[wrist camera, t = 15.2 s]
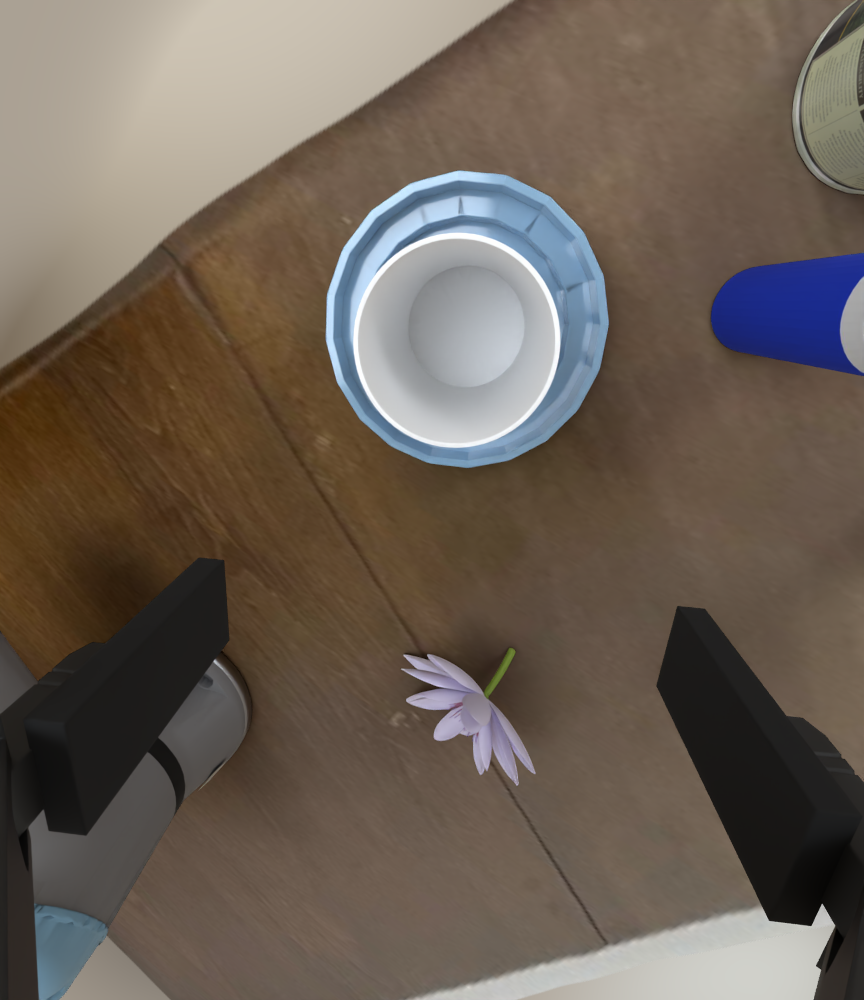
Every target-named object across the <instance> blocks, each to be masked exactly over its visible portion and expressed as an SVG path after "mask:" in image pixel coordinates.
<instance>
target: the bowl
mask: <svg viewBox="0 0 864 1000" xmlns="http://www.w3.org/2000/svg"><path fill="white" fill-rule="evenodd" d="M447 233H469V234H476V235H481V236H485V237H488V238H491V239H494V240H496V241H499V242H501V243H503V244H505V245H507V246H508V247H510V248H512V249H513V250H515V251H516V252H517V253H519V254H520V255H521V256H523V257H524V258H525V259H526V260H527V261H528V262H529V263H530V264H531V265H532V266H533V267H534V268H535V270H536V271H537V272H538V273H539V275H540V276H541V278H542V279H543V280H544V282H545V284H546V286H547V288H548V289H549V291H550V294H551V296H552V298H553V301H554V304H555V307H556V310H557V315H558V319H559V326H560V353H559V359H558V365H557V368H556V372H555V375H554V378H553V380H552V383H551V385H550V387H549V389H548V391H547V393H546V395H545V397H544V398H543V400H542V401H541V403H540V404H539V405H538V407H537V408H536V409H535V411H534V412H533V413H532V414H531V415H530V416H529V417H528V418H527V419H526V420H525V421H524V422H523V423H522V424H520V425H519V426H518V427H516V428H515V429H514V430H512V431H511V432H509V433H507V434H506V435H504V436H502V437H500V438H498V439H496V440H493V441H491V442H488V443H485V444H481V445H477V446H471V447H463V448H448V447H440V446H435V445H430V444H427V443H424V442H421V441H419V440H416V439H414V438H412V437H410V436H408V435H406V434H404V433H403V432H401V431H400V430H398V429H397V428H395V427H394V426H393V425H392V424H391V423H389V422H388V421H387V420H386V419H385V418H384V417H383V416H382V415H381V414H380V412H379V411H378V410H377V409H376V408H375V406H374V405H373V403H372V402H371V400H370V399H369V397H368V395H367V394H366V392H365V390H364V388H363V385H362V383H361V381H360V378H359V375H358V372H357V368H356V363H355V357H354V347H353V336H354V325H355V319H356V315H357V311H358V308H359V305H360V302H361V299H362V297H363V295H364V293H365V290H366V289H367V287H368V285H369V283H370V282H371V280H372V279H373V277H374V276H375V275H376V273H377V272H378V271H379V270H380V269H381V267H382V266H383V265H384V264H385V263H386V262H387V261H388V260H389V259H390V258H392V257H393V256H394V255H395V254H397V253H398V252H399V251H401V250H402V249H404V248H406V247H407V246H409V245H411V244H413V243H415V242H417V241H419V240H422V239H425V238H428V237H431V236H435V235H440V234H447ZM603 276H604V275H603V273H602V271H601V269H600V266H599V264H598V262H597V260H596V258H595V255H594V253H593V251H592V249H591V247H590V244H589V242H588V240H587V238H586V235H585V233H584V232H583V230H582V229H581V228H580V227H579V226H578V225H577V224H576V223H575V222H574V221H573V220H572V219H571V218H570V217H569V216H568V215H567V214H566V213H565V212H564V211H563V209H562V208H561V207H560V206H559V205H558V204H557V203H556V202H555V201H554V200H553V199H552V198H551V197H550V196H548V195H546V194H544V193H542V192H540V191H538V190H536V189H534V188H532V187H530V186H528V185H526V184H524V183H522V182H520V181H518V180H516V179H514V178H512V177H509V176H507V175H502V174H492V173H481V172H471V171H460V170H458V171H453V172H450V173H446V174H442V175H438V176H435V177H431V178H427V179H424V180H420V181H416V182H412V183H410V184H409V185H407V186H406V187H404V188H403V189H401V190H400V191H398V192H397V193H396V194H394V195H393V196H391V197H390V198H388V199H387V200H385V201H384V202H383V203H381V204H380V205H378V206H377V207H375V208H374V209H372V210H371V211H370V213H369V214H368V215H367V217H366V218H365V219H364V221H363V222H362V223H361V225H360V226H359V227H358V229H357V230H356V231H355V233H354V234H353V235H352V237H351V238H350V239H349V241H348V242H347V244H346V245H345V246H344V248H343V250H342V251H341V254H340V257H339V260H338V263H337V266H336V269H335V272H334V275H333V278H332V281H331V284H330V287H329V290H328V293H327V311H326V343H327V347H328V351H329V354H330V358H331V362H332V365H333V369H334V373H335V377H336V380H337V382H338V385H339V387H340V388H341V390H342V391H343V393H344V395H345V396H346V398H347V399H348V401H349V403H350V404H351V406H352V407H353V409H354V411H355V412H356V414H357V416H358V417H359V419H360V420H361V421H362V422H364V423H365V424H366V425H367V426H368V427H369V428H370V429H372V430H373V431H374V432H375V433H376V434H377V435H378V436H380V437H381V438H382V439H383V440H384V441H385V442H386V443H388V444H389V445H390V446H391V447H393V448H395V449H398V450H400V451H402V452H404V453H407V454H409V455H411V456H413V457H415V458H418V459H420V460H422V461H424V462H427V463H431V464H439V465H448V466H456V467H464V468H471V467H477V466H482V465H488V464H493V463H499V462H504V461H508V460H511V459H513V458H515V457H517V456H519V455H521V454H523V453H525V452H526V451H528V450H530V449H532V448H534V447H536V446H538V445H540V444H542V443H544V442H546V441H547V440H548V439H549V438H550V437H551V436H552V435H553V434H554V433H555V432H556V431H557V430H558V429H559V428H560V427H561V426H562V425H563V424H564V423H565V422H566V421H567V420H568V419H570V418H571V417H572V416H573V415H574V414H575V413H576V412H577V410H578V409H579V407H580V405H581V404H582V402H583V400H584V398H585V396H586V394H587V393H588V391H589V389H590V387H591V385H592V383H593V382H594V380H595V378H596V376H597V374H598V372H599V370H600V366H601V361H602V356H603V351H604V346H605V341H606V336H607V332H608V327H609V325H608V324H609V320H608V310H607V301H606V291H605V282H604V277H603Z"/></svg>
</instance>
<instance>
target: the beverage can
mask: <svg viewBox="0 0 864 1000" xmlns="http://www.w3.org/2000/svg"><path fill="white" fill-rule="evenodd" d="M711 323H712V328H713V331H714V333H715V335H716V337H717V338H718V340H719V341H720V342H721V343H722V344H723V345H725V346H726V347H728V348H729V349H731V350H734V351H737V352H742V353H748V354H753V355H758V356H763V357H768V358H773V359H778V360H784V361H789V362H794V363H799V364H804V365H809V366H814V367H819V368H825V369H830V370H835V371H840V372H845V373H850V374H855V375H861V376H864V253H859V254H851V255H843V256H835V257H827V258H820V259H812V260H804V261H796V262H789V263H781V264H773V265H765V266H758V267H752V268H749V269H746V270H743V271H741V272H740V273H738V274H736V275H735V276H733V277H732V278H731V279H730V280H728V281H727V282H726V283H725V285H724V286H723V287H722V288H721V290H720V291H719V293H718V294H717V296H716V298H715V301H714V304H713V307H712V313H711Z"/></svg>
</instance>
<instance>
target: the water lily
mask: <svg viewBox="0 0 864 1000" xmlns="http://www.w3.org/2000/svg"><path fill="white" fill-rule="evenodd" d="M515 653H516V651H515V650H514V649H513V648H509V649H508V651H507V653H506V655H505V657H504V659H503V661H502V663H501V665H500V667H499V669H498V670H497V672H496V674H495V675H494V677H493V678H492V680H491V682H490V683H489V684H488V686H487V687H486V689H485V690H484V692H482V690H481V688H480V687H479V686H478V684H477V683H476V682H475V681H474V680H473V679H472V678H471V677H470V676H469V675H468V674H467V673H465V672H464V671H463V670H462V669H460V668H459V667H457V666H456V665H454V664H452V663H451V662H449V661H447V660H445V659H443V658H440V657H438V656H435V655H431V654H427V656H428V658H429V659H430V660H431V661H429V660H427V659H424V658H420V657H416V656H412V655H406V654H403V656H404V657H405V658H406V659H407V660H408V661H409V662H410V663H411V664H412V665H413V666H414V667H416V668H417V669H401V670H403V671H405V672H407V673H408V674H410V675H412V676H414V677H416V678H418V679H420V680H422V681H425V682H427V683H429V684H432V685H435V686H438V687H442V688H441V689H434V690H430V691H425V692H421V693H418V694H415V695H412V696H410V697H408V698H407V699H406V701H407V702H409V704H412V705H414V706H417V707H420V708H424V709H430V710H442V709H446V710H449V709H451V708H454V707H456V706H458V707H456V708H454V709H452V711H450V712H449V713H448V714H447V715H446V716H445V717H444V718H443V719H442V720H441V721H440V722H439V723H438V725H437V726H436V728H435V731H434V739H435V740H438V741H444V740H448V739H451V738H453V737H455V736H456V735H458V734H459V733H460V734H463V735H467V737H468V736H469V735H473V734H474V735H473V739H472V742H473V740H474V742H473V752H474V759H475V763H476V767H477V769H478V772H479V774H480V775H482V774H483V772H484V770H485V769H486V771H488V767H489V763H490V758H491V751H492V747H493V750H494V753H495V755H496V757H497V759H498V761H499V763H500V764H501V766H502V768H503V769H504V771H505V772H506V774H507V775H508V776H509V777H510V778H511V779H512V781H513V782H514V783H515V784H516V785H517V786H518V774H517V768H516V763H515V759H514V756H513V752H512V749H513V750H514V752H515V754H516V755H517V756H518V758H519V759H520V760H521V762H522V763H523V764H524V765H525V766H526V767H527V769H529V770H530V771H531V772H532V773H534V774H536V773H535V770H534V767H533V765H532V762H531V759H530V757H529V755H528V753H527V751H526V749H525V747H524V745H523V743H522V741H521V739H520V738H519V736H518V734H517V733H516V731H515V729H514V728H513V726H512V725H511V724H510V722H509V721H508V720H507V718H506V717H505V716H504V715H503V713H502V712H501V711H500V710H499V709H498V708H497V707H496V706H495V705H494V704H493V703H492V702H491V701H490V700H489V698H488V697H489V695H490V694H491V693H492V691H493V690H494V689H495V687H496V686H497V684H498V683H499V681H500V680H501V678H502V676H503V675H504V673H505V672H506V670H507V668H508V666H509V665H510V663H511V661H512V659H513V657H514V655H515ZM459 705H460V706H459ZM507 738H508V739H507ZM508 740H509V741H508ZM509 743H510V744H509ZM510 745H511V746H510ZM511 747H512V749H511Z"/></svg>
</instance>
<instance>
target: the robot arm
mask: <svg viewBox="0 0 864 1000" xmlns="http://www.w3.org/2000/svg"><path fill="white" fill-rule="evenodd" d="M228 641H229V628H228V613H227V597H226V581H225V566H224V560H217V559H207V558H198V559H197V560H196V561H195V562H193V563H192V564H191V565H190V566H189V567H188V568H187V569H186V570H185V571H184V572H183V573H181V574H180V575H179V576H178V577H177V578H176V579H175V580H174V581H173V582H172V583H171V584H170V585H168V586H167V587H166V588H165V589H164V590H163V591H162V592H161V593H160V594H159V595H158V596H156V597H155V598H154V599H153V600H152V601H151V602H150V603H149V604H148V605H147V606H146V607H145V608H143V609H142V610H141V611H140V612H139V613H138V614H137V615H136V616H135V617H134V618H133V619H131V620H130V621H129V622H128V623H127V624H126V625H125V626H124V627H123V628H122V629H121V630H119V631H118V632H117V633H116V634H115V635H114V636H113V637H112V638H111V639H110V640H108V641H107V642H106V643H96V642H92V643H90V644H88V645H86V646H84V647H82V648H80V649H79V650H77V651H75V652H73V653H71V654H69V655H68V656H67V657H66V658H65V659H63V660H62V661H61V662H60V663H59V664H58V665H56V666H55V667H54V668H53V669H52V672H48V673H47V674H46V675H45V676H44V677H43V678H41V679H40V680H39V681H37V680H36V678H35V677H34V676H33V674H32V673H31V672H30V670H29V669H28V668H27V666H26V665H25V664H24V662H23V661H22V660H21V658H20V657H19V656H18V654H17V653H16V652H15V650H14V649H13V648H12V646H11V645H10V644H9V642H8V641H7V640H6V638H5V637H4V635H3V634H2V633H1V631H0V1000H59V999H60V998H61V997H62V996H63V995H64V994H65V993H66V991H67V990H68V989H69V987H70V986H71V984H72V983H73V981H74V979H75V978H76V977H77V975H78V974H79V972H80V971H81V969H82V967H83V966H84V965H85V963H86V962H87V961H88V959H89V958H90V956H91V955H92V953H93V952H94V950H95V949H96V947H97V946H98V945H100V943H102V941H103V940H104V939H105V937H106V935H107V932H108V928H109V926H110V925H111V923H112V921H113V919H114V918H115V916H116V914H117V913H118V911H119V909H120V907H121V906H122V904H123V902H124V901H125V899H126V897H127V895H128V894H129V892H130V890H131V889H132V887H133V885H134V883H135V882H136V880H137V878H138V877H139V875H140V873H141V871H142V870H143V868H144V866H145V865H146V863H147V861H148V860H149V858H150V856H151V854H152V853H153V851H154V849H155V848H156V846H157V844H158V842H159V841H160V839H161V837H162V836H163V834H164V832H165V831H166V829H167V827H168V826H169V824H170V822H171V820H172V818H173V817H174V815H175V813H176V812H177V810H178V809H179V807H180V805H181V804H182V802H183V801H184V799H186V798H187V797H188V796H189V795H190V794H191V793H192V792H193V791H195V790H196V789H197V788H198V787H199V786H200V785H201V784H203V783H204V782H205V781H206V780H207V779H208V778H209V777H210V778H209V779H208V780H207V781H206V782H205V783H204V784H203V786H204V785H205V784H206V783H207V782H209V781H210V780H211V779H212V777H213V776H214V775H215V774H216V773H217V772H218V770H219V769H220V768H221V767H222V766H223V765H224V764H225V763H226V762H227V761H228V760H229V759H230V758H231V757H232V755H233V754H234V753H235V752H236V750H237V749H238V747H239V746H240V744H241V742H242V741H243V739H244V737H245V735H246V733H247V731H248V729H249V726H250V722H251V717H252V705H251V699H250V695H249V691H248V689H247V686H246V684H245V682H244V680H243V678H242V676H241V675H240V673H239V672H238V670H237V669H236V668H235V666H234V665H233V664H232V663H231V662H230V661H229V660H228V659H227V658H226V657H225V656H224V655H223V654H222V653H221V651H222V649H223V648H224V646H225V645H226V644H227V642H228ZM656 686H657V688H658V690H659V692H660V694H661V696H662V698H663V701H664V703H665V705H666V707H667V709H668V711H669V713H670V715H671V717H672V719H673V721H674V723H675V726H676V728H677V730H678V732H679V734H680V736H681V738H682V740H683V742H684V744H685V746H686V748H687V751H688V753H689V755H690V757H691V759H692V761H693V763H694V765H695V767H696V769H697V771H698V773H699V776H700V778H701V780H702V782H703V784H704V786H705V788H706V790H707V792H708V794H709V796H710V799H711V801H712V803H713V805H714V807H715V809H716V811H717V813H718V815H719V817H720V819H721V821H722V824H723V826H724V828H725V830H726V832H727V834H728V836H729V838H730V840H731V842H732V844H733V846H734V849H735V851H736V853H737V855H738V857H739V859H740V861H741V863H742V865H743V867H744V869H745V871H746V874H747V876H748V878H749V880H750V882H751V884H752V886H753V888H754V890H755V892H756V894H757V897H758V899H759V901H760V903H761V905H762V907H763V909H764V911H765V913H766V915H767V917H768V919H769V921H775V922H783V923H791V924H799V925H807V926H812V924H813V921H814V919H815V917H816V915H817V913H818V911H819V909H820V907H821V904H823V905H824V907H825V909H826V910H827V912H828V914H829V916H830V917H831V919H832V921H833V923H834V924H835V928H834V930H833V932H832V934H831V936H830V938H829V940H828V942H827V945H826V946H825V948H824V950H823V953H822V955H821V957H820V959H819V961H818V963H817V965H816V966H817V967H818V968H820V969H821V973H820V977H819V981H818V985H817V989H816V992H815V996H814V1000H864V782H863V781H862V780H861V779H860V777H859V776H858V775H855V774H854V770H853V769H852V768H851V766H850V765H849V764H848V763H847V761H846V760H845V759H842V758H841V754H840V753H839V752H838V750H837V749H836V748H835V747H834V745H833V744H832V743H831V742H830V741H829V739H828V738H827V737H826V736H825V735H824V734H823V733H821V732H820V731H819V730H818V729H816V728H815V727H814V726H812V725H811V724H810V723H809V722H807V721H806V720H805V719H803V718H800V717H790V716H786V715H785V714H784V712H783V711H782V710H781V708H780V707H779V706H778V704H777V703H776V702H775V700H774V699H773V698H772V696H771V695H770V694H769V692H768V691H767V690H766V689H765V687H764V686H763V685H762V683H761V682H760V681H759V679H758V678H757V677H756V675H755V674H754V673H753V671H752V670H751V669H750V668H749V666H748V665H747V664H746V662H745V661H744V660H743V658H742V657H741V656H740V654H739V653H738V652H737V650H736V649H735V648H734V646H733V645H732V644H731V643H730V641H729V640H728V639H727V637H726V636H725V635H724V633H723V632H722V631H721V629H720V628H719V627H718V625H717V624H716V623H715V621H714V620H713V619H712V618H711V616H710V615H709V614H708V612H707V611H706V610H705V609H702V608H692V607H682V606H677V609H676V613H675V617H674V621H673V625H672V628H671V632H670V636H669V640H668V644H667V647H666V651H665V655H664V659H663V663H662V666H661V670H660V674H659V678H658V682H657V685H656ZM203 786H202V787H203ZM202 787H201V788H202ZM201 788H200V789H201ZM200 789H199V790H200ZM199 790H198V791H199Z"/></svg>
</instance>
